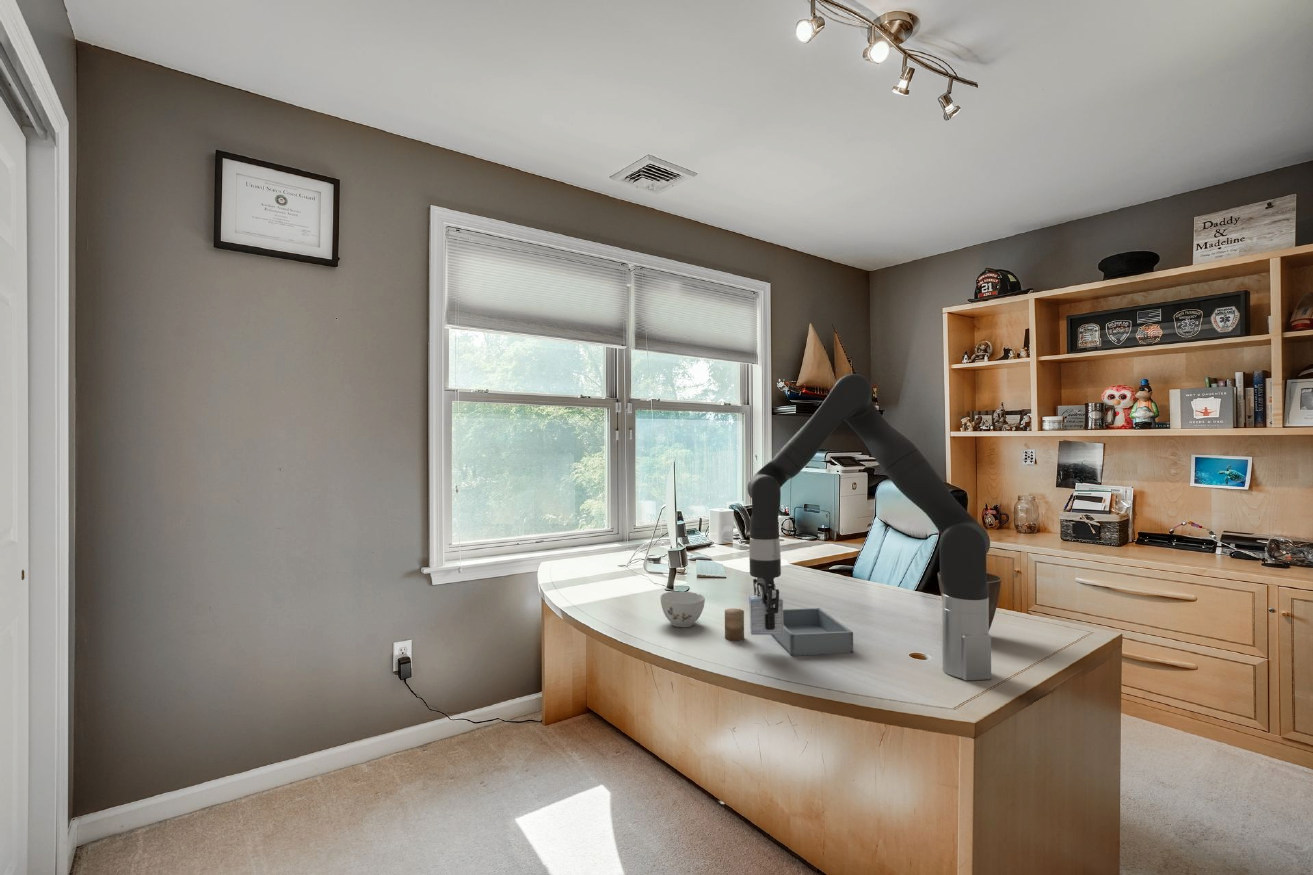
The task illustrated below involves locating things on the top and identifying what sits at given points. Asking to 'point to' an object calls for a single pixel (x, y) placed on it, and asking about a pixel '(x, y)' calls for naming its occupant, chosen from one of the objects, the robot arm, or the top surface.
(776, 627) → the medicine box
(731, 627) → the tan bread loaf
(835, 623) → the tote
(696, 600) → the teacup
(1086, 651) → the top surface
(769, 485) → the robot arm
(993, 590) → the plant pot
